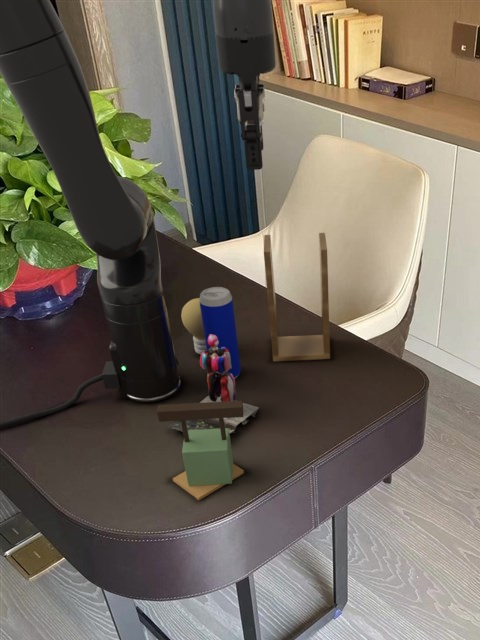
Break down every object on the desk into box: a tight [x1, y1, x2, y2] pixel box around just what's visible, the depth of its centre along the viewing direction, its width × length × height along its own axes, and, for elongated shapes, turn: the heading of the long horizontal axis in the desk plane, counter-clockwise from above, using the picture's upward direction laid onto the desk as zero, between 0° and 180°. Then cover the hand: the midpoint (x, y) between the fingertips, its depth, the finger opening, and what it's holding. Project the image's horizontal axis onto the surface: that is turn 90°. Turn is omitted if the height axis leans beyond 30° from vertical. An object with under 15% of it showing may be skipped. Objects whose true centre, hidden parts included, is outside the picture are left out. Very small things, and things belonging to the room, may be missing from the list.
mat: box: [172, 463, 245, 501], centre depth 102 cm, size 8×6×1 cm
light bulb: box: [181, 297, 207, 356], centre depth 126 cm, size 6×6×10 cm
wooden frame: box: [263, 232, 331, 362], centre depth 123 cm, size 10×7×20 cm
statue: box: [167, 334, 260, 434], centre depth 108 cm, size 11×9×15 cm
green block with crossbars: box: [156, 400, 244, 486], centre depth 98 cm, size 11×5×12 cm, turn 95°
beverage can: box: [199, 286, 242, 380], centre depth 118 cm, size 5×5×15 cm
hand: (255, 159), depth 104 cm, fingers open, 8 cm apart
